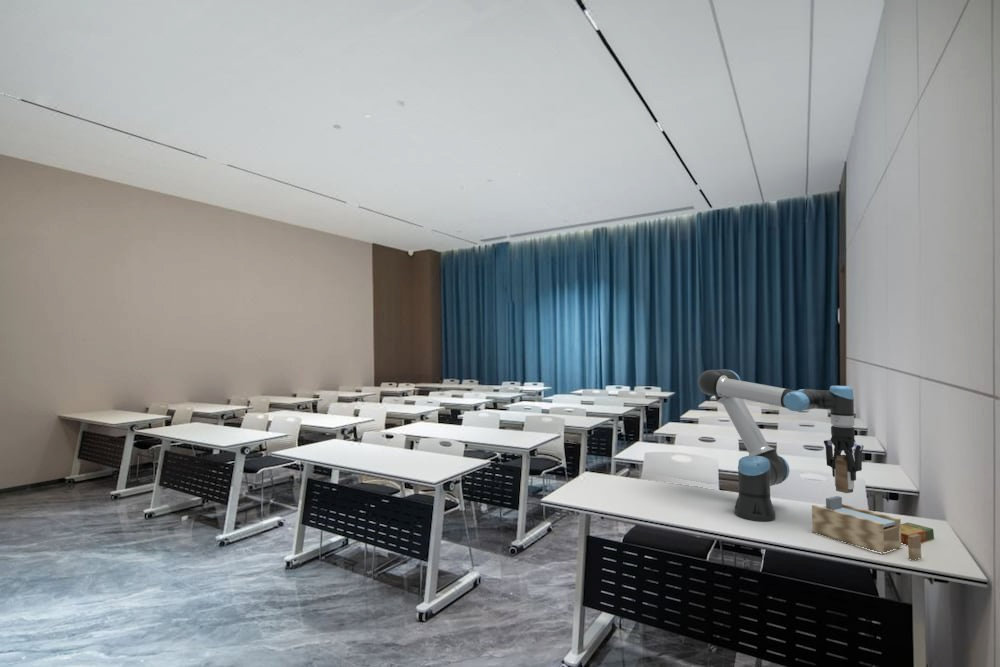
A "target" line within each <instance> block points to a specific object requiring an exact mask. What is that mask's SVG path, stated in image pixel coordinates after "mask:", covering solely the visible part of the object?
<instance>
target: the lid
mask: <svg viewBox="0 0 1000 667" xmlns="http://www.w3.org/2000/svg"><path fill="white" fill-rule="evenodd" d="M842 504H843V498H842V496H839V495H836V496H831V497H827V498H825V505H824V506H822V507H823V508H827V509H831V510H834V511H838V512H842V513H845V514H849V515H853V516H856V517H860V518H864V519H867V520H871V521H875V522H878V523H882V524H883V528H884V527H888V526H891V525H895V521H892V520H888V519H884V518H881V517H877V516H873V515H869V514H866V513H862V512H858V511H854V510H850V509H847V508H843V507H842Z"/></svg>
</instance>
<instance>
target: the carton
mask: <svg viewBox="0 0 1000 667" xmlns="http://www.w3.org/2000/svg"><path fill="white" fill-rule="evenodd" d="M914 534H919V535H921V544H922V543H926V542H929V541H933V540H934V539H935V532H934V528H931V527H927V526H923V525H920V524H916V523H911V522H904V523H901V543H903V544H906V545H905V546H907V545H908V536H910V535H914ZM903 544H902V545H903Z"/></svg>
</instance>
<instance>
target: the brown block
mask: <svg viewBox="0 0 1000 667" xmlns="http://www.w3.org/2000/svg"><path fill="white" fill-rule="evenodd" d="M849 471H850V470H849V466H848V462H847V458H846V454H841V455H838V456H837V459H835V473H836V486H835V491H836V492H839V493H843V494H851V493H854V489H848V475H847V472H849Z"/></svg>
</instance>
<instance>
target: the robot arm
mask: <svg viewBox="0 0 1000 667" xmlns="http://www.w3.org/2000/svg"><path fill="white" fill-rule="evenodd" d="M697 385H698V388H699V389H700V392H702V393H703V394H705V395H707V396H714V397H715V400H716V401H717V403H719V404H722V405H723V407H724V409H725V411H726V413H727V415H728V416H729V419H730V420H731V423H732V424H733V426H734V428H735V429H736V431H737V433H738V435H739V437H740V439H741V441H742V442H743V444H744V445H743V446H744V447H745V449H746V451H747V452H748V455H746V456H743V457H740V458H739V459H738V466H737V470H738V474H737V475H738V477H737V478H738V479H737V480H738V496H737V499H736V502H735V505H734V510H733V512H734V515H736V516H737V517H739V518H741V519H745V520H749V521H756V522H771V521H775V520H776V510H775V509H774V506H773V503H772V500H771V486H775V485H779V484H782V483H783V482H785V481H786V480H787V479H788V477H789V475H790V466H789V463H788V461H787V460H786V459H785V458H784V457H782V456H780V455H779V454H778V453H777V451H776V449H775V448H774V447H771V446H769V444H768V442H767V441H766V439H765V438H764V435H763V433H762V432H761V429H760V428H759V426H758V425H757V422H756V421H755V419H754V417H753V415H752V414H751V412H750V409H749V408H748V406H747V405H746V403H745V401H744V400H746V401H751V402H756V403H760V404H765V405H771V406H775V407H779V408H780V407H781V408H784V409H787V410H789V411H792V412H802V411H803V412H804V411H808V410H814V409H815V410H830V424H831V426H830V434H831V437H830V439H826V440H823V445H824V446H825V459H826V466H827V467H831V471H832V477H833V478H834V486H835V487H836V473H835V459H837V456H838V455H842V452H844V455H846V458H847V462H848V466H849V470H850V471H849V472H847V475H848V489H853V490H854V489H855V481H856V480H857V472H861V471H862V470H863V461H862V460H863V449H864V445H863V444H859V443H857V442H856V439H855V438H856V437H855V427H854V426H855V409H854V408H855V404H854V403H855V398H854V389H853V388H852V386H849V385H831V386H830V387H829V390H822V389H810V388H804V389H803V388H802V389H798V390H794V389H788V388H783V387H777V386H773V385H767V384H761V383H756V382H749V381H744V380H741V378H740V376H739V375H738V374H737V372H735V371H734V370H731V369H725V368H721V369H709V370H705V371H703V372H702V373H701V374H700V375H699V377H698V380H697ZM833 446H834V448H833ZM853 448H854V450H853ZM833 451H834V452H833ZM853 453H854V454H853Z"/></svg>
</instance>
